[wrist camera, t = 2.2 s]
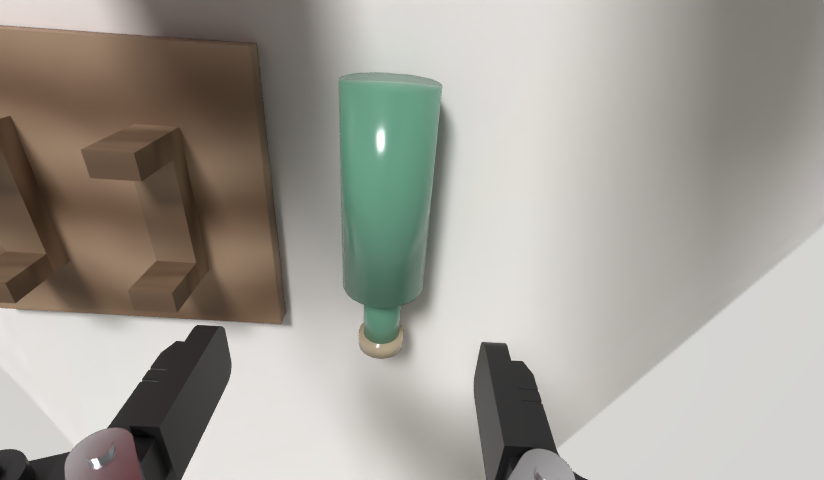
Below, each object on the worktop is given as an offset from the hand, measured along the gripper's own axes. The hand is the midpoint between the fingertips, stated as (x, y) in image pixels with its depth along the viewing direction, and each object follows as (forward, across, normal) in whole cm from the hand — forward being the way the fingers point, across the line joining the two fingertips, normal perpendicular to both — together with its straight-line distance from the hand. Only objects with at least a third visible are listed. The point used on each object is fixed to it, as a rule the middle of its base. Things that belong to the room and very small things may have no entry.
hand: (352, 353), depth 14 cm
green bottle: (+15, 0, +2) cm, 15 cm away
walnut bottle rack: (+14, +17, +2) cm, 22 cm away
